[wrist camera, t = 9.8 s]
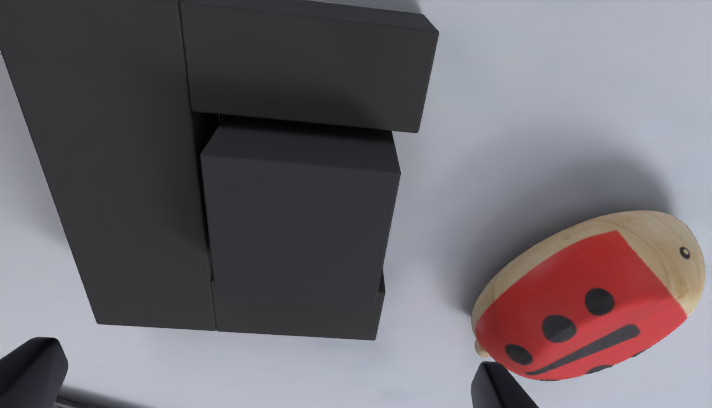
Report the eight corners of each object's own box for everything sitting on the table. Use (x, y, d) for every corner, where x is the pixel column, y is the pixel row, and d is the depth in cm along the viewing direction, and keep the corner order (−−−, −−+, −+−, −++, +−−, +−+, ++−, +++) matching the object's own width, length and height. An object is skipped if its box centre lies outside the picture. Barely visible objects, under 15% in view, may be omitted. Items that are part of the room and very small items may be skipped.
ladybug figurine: (703, 257, 18) (774, 322, 15) (511, 359, 22) (537, 427, 19) (637, 162, 15) (705, 218, 12) (431, 298, 19) (446, 365, 16)
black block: (388, 115, 14) (401, 172, 11) (369, 234, 17) (374, 308, 14) (235, 100, 14) (199, 154, 10) (241, 224, 17) (215, 298, 13)
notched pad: (424, 14, 12) (440, 31, 10) (372, 295, 19) (375, 340, 17) (40, -31, 12) (-28, -23, 10) (125, 279, 18) (96, 324, 16)
